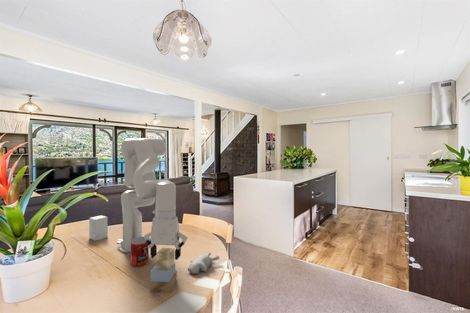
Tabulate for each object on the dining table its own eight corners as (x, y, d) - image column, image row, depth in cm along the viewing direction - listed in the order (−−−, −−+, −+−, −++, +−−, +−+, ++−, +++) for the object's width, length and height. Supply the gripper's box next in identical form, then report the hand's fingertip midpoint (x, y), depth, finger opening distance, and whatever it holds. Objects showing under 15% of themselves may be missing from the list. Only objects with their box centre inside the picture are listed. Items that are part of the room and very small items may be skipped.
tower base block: (150, 293, 84) (150, 282, 84) (156, 281, 92) (156, 271, 92) (171, 293, 84) (171, 282, 84) (176, 281, 92) (176, 271, 92)
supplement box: (108, 237, 139) (108, 216, 139) (95, 241, 133) (95, 219, 133) (101, 234, 143) (101, 214, 143) (88, 238, 137) (89, 217, 137)
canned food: (137, 268, 101) (137, 244, 101) (127, 263, 106) (127, 240, 106) (152, 261, 108) (152, 238, 108) (141, 257, 112) (141, 235, 112)
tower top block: (150, 281, 85) (150, 270, 85) (158, 271, 92) (158, 261, 92) (169, 282, 84) (169, 271, 84) (175, 272, 91) (175, 262, 91)
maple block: (156, 268, 86) (156, 252, 86) (162, 262, 91) (162, 247, 91) (168, 269, 86) (168, 253, 86) (174, 263, 91) (174, 248, 91)
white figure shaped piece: (182, 262, 99) (206, 247, 111) (183, 273, 100) (207, 257, 112) (198, 269, 94) (221, 252, 106) (199, 280, 94) (222, 262, 106)
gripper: (139, 215, 85) (139, 260, 86) (183, 217, 83) (183, 263, 83) (149, 210, 93) (149, 252, 93) (190, 212, 91) (190, 254, 91)
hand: (165, 257), depth 88 cm, fingers open, 9 cm apart
